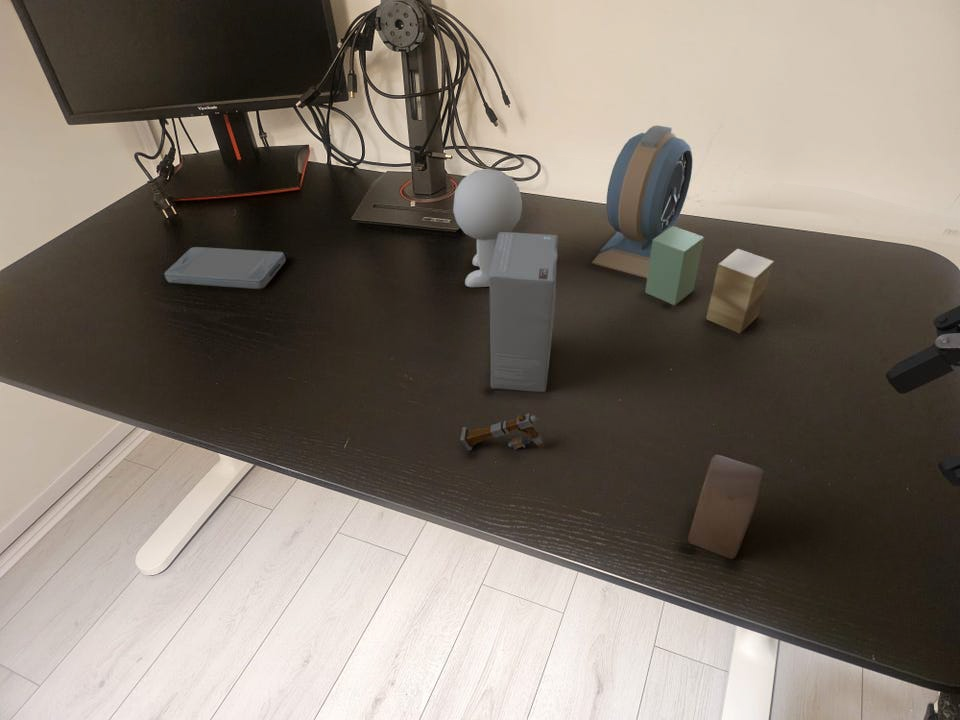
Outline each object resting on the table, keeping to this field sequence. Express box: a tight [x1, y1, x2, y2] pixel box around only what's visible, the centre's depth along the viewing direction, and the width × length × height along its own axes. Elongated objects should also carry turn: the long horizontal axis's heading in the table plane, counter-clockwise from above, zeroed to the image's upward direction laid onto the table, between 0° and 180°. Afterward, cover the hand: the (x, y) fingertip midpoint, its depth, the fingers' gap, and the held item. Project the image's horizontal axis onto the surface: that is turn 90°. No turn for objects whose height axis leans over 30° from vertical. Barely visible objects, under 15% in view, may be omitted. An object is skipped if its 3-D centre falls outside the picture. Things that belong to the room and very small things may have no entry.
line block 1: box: [644, 225, 705, 306], centre depth 78 cm, size 4×4×8 cm
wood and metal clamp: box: [460, 413, 544, 452], centre depth 61 cm, size 2×8×4 cm, turn 84°
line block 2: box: [705, 248, 775, 334], centre depth 73 cm, size 4×4×8 cm
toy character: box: [452, 168, 523, 288], centre depth 82 cm, size 9×9×15 cm
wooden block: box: [687, 454, 765, 560], centre depth 51 cm, size 4×4×8 cm
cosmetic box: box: [489, 231, 559, 393], centre depth 66 cm, size 8×7×16 cm
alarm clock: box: [591, 125, 693, 279], centre depth 83 cm, size 14×10×18 cm
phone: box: [163, 246, 287, 290], centre depth 91 cm, size 8×16×1 cm, turn 78°
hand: (916, 427), depth 43 cm, fingers open, 8 cm apart
